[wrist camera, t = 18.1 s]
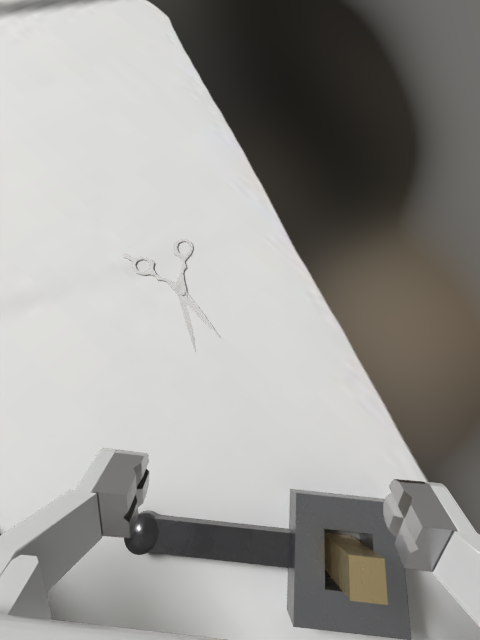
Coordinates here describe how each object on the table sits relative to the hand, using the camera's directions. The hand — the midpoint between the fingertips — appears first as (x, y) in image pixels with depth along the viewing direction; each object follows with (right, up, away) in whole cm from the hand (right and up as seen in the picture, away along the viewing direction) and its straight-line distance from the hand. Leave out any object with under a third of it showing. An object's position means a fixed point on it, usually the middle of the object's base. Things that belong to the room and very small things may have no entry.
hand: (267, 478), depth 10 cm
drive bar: (+10, -20, +24) cm, 33 cm away
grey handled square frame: (+1, -19, +24) cm, 31 cm away
